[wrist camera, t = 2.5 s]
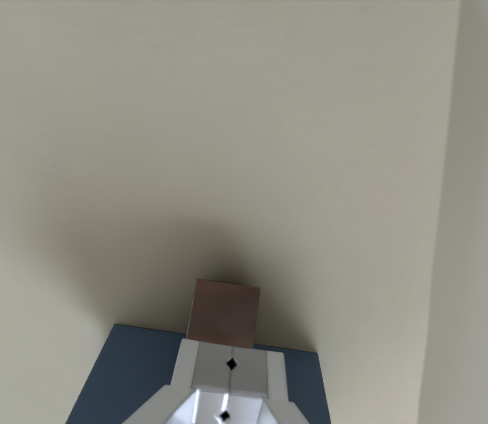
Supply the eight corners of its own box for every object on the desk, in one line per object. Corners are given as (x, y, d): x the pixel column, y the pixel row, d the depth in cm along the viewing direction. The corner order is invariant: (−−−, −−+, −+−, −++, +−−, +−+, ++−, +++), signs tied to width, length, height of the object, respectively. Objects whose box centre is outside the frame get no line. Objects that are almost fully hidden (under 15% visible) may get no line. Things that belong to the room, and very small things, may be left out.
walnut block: (202, 253, 25) (182, 335, 18) (260, 262, 25) (260, 346, 19) (192, 332, 28) (172, 425, 22) (242, 339, 29) (238, 434, 22)
